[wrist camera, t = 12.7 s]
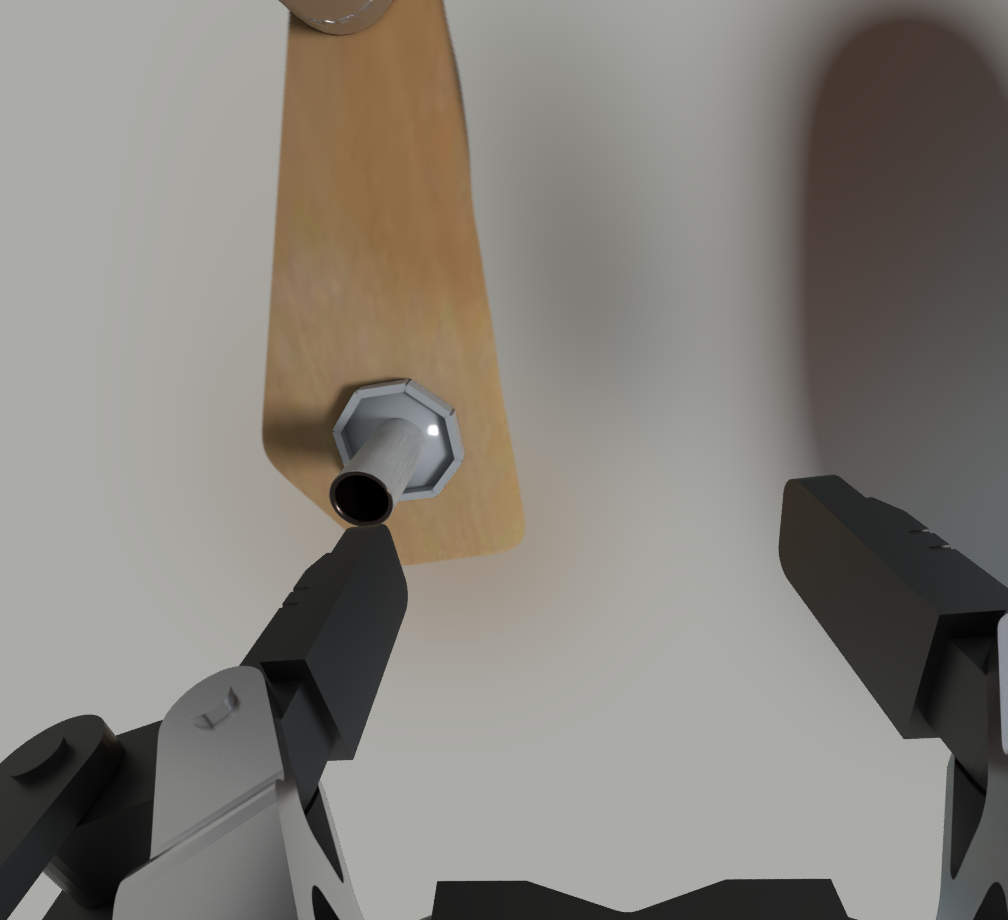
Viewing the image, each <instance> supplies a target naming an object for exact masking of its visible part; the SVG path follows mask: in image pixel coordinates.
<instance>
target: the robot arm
mask: <svg viewBox="0 0 1008 920" xmlns="http://www.w3.org/2000/svg"><path fill="white" fill-rule="evenodd" d="M279 1H280V2H281V3H282V4H284V6H286V7H287V8H288V9H289V10H290V11H291V12H292V13H293V14H294V15H295V16H297V17H298V18H299V19H301V20H302V21H303V22H305V23H306V24H308V25H309V26H311V27H313V28H315V29H317V30H320V31H322V32H324V33H330V34H336V35H344V34H352V33H356V32H358V31H361V30H363V29H366V28H368V27H369V26H370V25H372V24H373V23H374V22H376V21H377V20H378V19H379V18H380V17H381V16H382V15H383V14H384V12H385V11H386V10H387V9H388V7H389V6H390V5H391V3H392V1H393V0H279ZM779 557H780V562H781V566H782V569H783V571H784V574H785V575H786V577H787V579H788V580H789V582H790V583H791V585H792V586H793V587H794V589H795V590H796V591H797V593H798V594H799V596H800V597H801V598H802V600H803V601H804V603H805V604H806V605H807V607H808V608H809V609H810V611H811V612H812V613H813V615H814V616H815V618H816V619H817V620H818V622H819V623H820V624H821V626H822V627H823V629H824V630H825V631H826V633H827V634H828V635H829V637H830V638H831V640H832V641H833V642H834V644H835V645H836V646H837V648H838V649H839V651H840V652H841V653H842V655H843V656H844V657H845V659H846V660H847V662H848V663H849V664H850V666H851V667H852V669H853V670H854V671H855V673H856V674H857V675H858V677H859V678H860V679H861V681H862V682H863V684H864V685H865V686H866V688H867V689H868V691H869V692H870V693H871V695H872V696H873V697H874V699H875V700H876V702H877V703H878V704H879V706H880V707H881V708H882V710H883V711H884V713H885V714H886V715H887V716H888V718H889V719H890V721H891V722H892V723H893V725H894V726H895V728H896V729H897V730H898V732H899V733H900V735H901V736H902V737H903V739H918V738H941V739H942V741H943V742H944V743H945V744H946V746H947V747H948V748H949V749H950V751H951V752H952V753H951V756H950V759H949V762H948V766H947V777H946V797H945V815H944V816H945V817H944V834H943V852H942V871H941V888H940V899H939V906H938V912H937V916H936V920H1008V588H1007V587H1006V586H1004V585H1003V584H1002V583H1000V582H999V581H997V580H996V579H995V578H994V577H992V576H991V575H990V574H988V573H987V572H986V571H984V570H983V569H982V568H980V567H979V566H978V565H976V564H975V563H974V562H972V561H971V560H970V559H968V558H967V557H966V556H964V555H963V554H962V553H960V552H959V551H957V550H956V549H951V548H950V544H948V543H947V542H945V541H944V540H943V539H941V538H940V537H939V536H938V535H936V534H935V533H930V532H929V529H928V528H927V527H925V526H924V525H923V524H921V523H920V522H919V521H917V520H916V519H915V518H913V517H912V516H911V515H909V514H908V513H907V512H905V511H903V510H901V509H899V508H896V507H894V506H892V505H889V504H887V503H884V502H882V501H880V500H877V499H875V498H873V497H870V498H866V497H864V496H863V495H862V494H861V493H859V492H858V491H857V490H855V489H854V488H853V487H852V486H851V485H849V484H848V483H847V482H845V481H844V480H843V479H842V478H840V477H839V476H836V475H824V476H816V477H807V478H797V479H790V480H789V481H788V482H787V483H786V485H785V488H784V493H783V504H782V515H781V526H780V537H779ZM407 602H408V590H407V584H406V579H405V576H404V573H403V570H402V567H401V564H400V561H399V558H398V555H397V551H396V548H395V545H394V542H393V539H392V536H391V533H390V531H389V529H388V527H387V526H386V525H384V524H377V525H368V526H359V527H350V528H348V529H347V530H346V531H345V532H344V534H343V535H342V537H341V538H340V540H339V541H338V543H337V545H336V546H335V548H334V549H333V551H332V552H331V553H326V554H325V555H323V556H322V557H321V558H320V559H319V560H317V561H316V562H315V563H314V564H313V565H311V566H310V567H309V568H308V569H307V570H306V571H305V572H304V574H303V575H302V577H301V578H300V579H299V581H298V582H297V584H296V585H295V587H294V588H293V592H291V593H290V594H289V595H288V597H287V598H286V600H285V601H284V602H283V607H282V608H279V609H278V611H277V612H276V614H275V615H274V617H273V618H272V620H271V621H270V622H269V624H268V625H267V627H266V628H265V630H264V631H263V632H262V634H261V636H260V637H259V638H258V640H257V641H256V643H255V644H254V645H253V647H252V648H251V650H250V651H249V653H248V654H247V655H246V657H245V658H244V660H243V661H242V663H241V664H240V665H239V666H237V667H232V668H228V669H225V670H222V671H219V672H217V673H215V674H213V675H211V676H209V677H207V678H206V679H204V680H202V681H201V682H199V683H198V684H196V685H195V686H193V687H192V688H191V689H190V690H189V691H187V692H186V693H185V694H184V695H183V696H182V697H180V698H179V700H178V701H177V702H176V703H175V704H174V705H173V706H172V707H171V709H170V710H169V711H168V713H167V714H166V716H165V718H164V719H163V720H161V721H158V722H155V723H152V724H149V725H146V726H143V727H140V728H137V729H134V730H131V731H128V732H125V733H122V734H120V735H116V736H115V735H114V733H113V732H112V731H111V730H110V728H109V727H108V726H107V724H106V723H105V722H104V721H103V719H102V718H101V717H99V716H96V715H82V716H77V717H73V718H70V719H67V720H65V721H62V722H60V723H58V724H56V725H54V726H52V727H50V728H48V729H46V730H44V731H43V732H41V733H39V734H38V735H36V736H34V737H33V738H31V739H30V740H28V741H27V742H25V743H24V744H23V745H21V746H20V747H19V748H17V749H16V750H15V751H14V752H13V753H11V754H10V755H9V756H8V757H7V758H6V759H5V760H4V761H3V762H1V763H0V920H7V919H8V917H9V916H10V915H11V913H12V912H13V911H14V909H15V908H16V907H17V905H18V904H19V902H20V901H21V900H22V898H23V897H24V896H25V894H26V893H27V892H28V890H29V889H30V887H31V886H32V885H33V884H34V882H35V881H36V879H37V878H38V877H39V875H40V874H41V873H42V871H43V872H44V873H45V874H46V875H47V876H48V877H49V878H50V879H51V880H53V882H55V883H56V884H57V885H58V886H59V887H60V888H61V889H62V891H61V893H60V894H59V896H58V897H57V899H56V900H55V902H54V903H53V905H52V906H51V908H50V909H49V910H48V912H47V914H46V915H45V916H44V918H43V919H42V920H364V918H363V915H362V913H361V911H360V908H359V905H358V903H357V900H356V897H355V894H354V891H353V887H352V884H351V880H350V877H349V874H348V870H347V866H346V863H345V859H344V856H343V853H342V849H341V845H340V842H339V838H338V835H337V831H336V828H335V824H334V821H333V818H332V814H331V811H330V807H329V803H328V800H327V797H326V793H325V790H324V787H323V785H322V783H321V781H320V778H321V775H322V773H323V770H324V768H325V765H326V763H327V761H335V760H353V758H354V756H355V753H356V750H357V747H358V744H359V742H360V739H361V736H362V733H363V730H364V727H365V725H366V721H367V719H368V716H369V713H370V711H371V708H372V705H373V702H374V699H375V697H376V694H377V691H378V688H379V685H380V682H381V680H382V677H383V674H384V671H385V668H386V665H387V662H388V660H389V657H390V654H391V651H392V648H393V646H394V643H395V640H396V637H397V634H398V632H399V629H400V626H401V623H402V620H403V617H404V615H405V612H406V608H407ZM420 920H857V919H853V918H850V917H848V916H847V914H846V911H845V909H844V907H843V905H842V903H841V901H840V898H839V896H838V894H837V892H836V889H835V887H834V885H833V883H832V881H831V879H734V880H723V881H720V882H718V883H715V884H712V885H709V886H706V887H704V888H701V889H698V890H695V891H692V892H689V893H687V894H684V895H681V896H678V897H675V898H673V899H670V900H667V901H664V902H661V903H659V904H656V905H653V906H650V907H647V908H644V909H642V910H639V911H635V912H620V911H616V910H613V909H610V908H607V907H604V906H601V905H598V904H594V903H591V902H589V901H586V900H583V899H580V898H577V897H574V896H571V895H568V894H564V893H562V892H559V891H556V890H553V889H550V888H546V887H544V886H541V885H538V884H534V883H532V882H529V881H438V882H437V886H436V893H435V899H434V906H433V911H432V915H431V916H428V917H425V918H422V919H420Z"/></svg>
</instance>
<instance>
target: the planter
mask: <svg viewBox="0 0 1008 920" xmlns="http://www.w3.org/2000/svg"><path fill="white" fill-rule="evenodd" d="M424 450H425V438H424V436H423V434H422V432H421V430H420V429H419V428H418V427H417V426H416V425H415V424H413V423H412V422H410V421H408V420H405V419H398V418H397V419H390V420H388V421H386V422H384V423H383V424H382V425H380V426H379V427H378V429H377V430H376V431H375V432H374V433H373V434H372V436H371V437H370V438H369V439H368V440H367V442H366V443H365V444H364V445H363V446H362V447H361V449H360V450H359V451H358V452H357V453H356V455H355V456H354V457H353V458H352V459H351V460H350V462H349V463H348V464H347V465H346V466H345V468H344V469H343V470H342V471H341V472H340V473H339V475H338V476H337V477H336V478H335V479H334V481H333V482H332V484H331V487H330V491H329V497H330V502H331V505H332V507H333V508H334V510H335V511H336V513H337V514H338V515H339V516H340V517H341V518H342V519H344V520H345V521H347V522H349V523H351V524H353V525H356V526H368V525H377V524H381V523H383V522H385V521H386V520H387V519H388V518H389V517H390V515H391V513H392V511H393V510H394V508H395V506H396V504H397V502H398V500H399V498H400V497H401V495H402V493H403V491H404V489H405V487H406V485H407V484H408V482H409V480H410V478H411V476H412V474H413V472H414V471H415V469H416V467H417V465H418V463H419V461H420V459H421V458H422V456H423V453H424Z"/></svg>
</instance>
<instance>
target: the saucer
mask: <svg viewBox="0 0 1008 920" xmlns="http://www.w3.org/2000/svg"><path fill="white" fill-rule="evenodd" d="M452 409H453V407H452V406H451V405H449V404H448V403H446V402H445V401H443V400H442V399H440V398H439V397H437V396H436V395H434V394H433V393H431V392H430V391H429V390H427V389H426V388H424V387H423V386H421V385H420V384H418V383H417V382H415V381H414V380H411V381H409V379H403V380H397V381H391V382H384V383H378V384H372V385H365V386H362V387H360V388H359V389H358V390H356V391H355V392H354V394H353V395H352V397H351V399H350V401H349V402H348V404H347V406H346V407H345V409H344V411H343V413H342V414H341V416H340V418H339V420H338V421H337V423H336V425H335V426H334V428H333V432H332V433H333V436H334V439H335V442H336V444H337V447H338V450H339V453H340V456H341V459H342V462H343V464H344V467H345V466H346V465H347V464H348V463H349V462H350V460H351V459H352V458H353V457H354V456H355V455H356V453H357V452H358V451H359V450H360V449H361V447H362V446H363V445H364V444H365V443H366V442H367V440H368V439H369V438H370V437H371V436H372V434H373V433H374V432H375V431H376V430H377V429H378V427H379V426H380V425H382V424H383V423H384V422H386V421H388V420H390V419H397V418H398V419H405V420H408V421H410V422H412V423H413V424H415V425H416V426H417V427H418V428H419V429H420V430H421V432H422V434H423V436H424V438H425V450H424V453H423V456H422V458H421V459H420V461H419V463H418V465H417V467H416V469H415V471H414V472H413V474H412V476H411V478H410V480H409V482H408V484H407V485H406V487H405V489H404V491H403V493H402V495H401V497H400V498H399V500H398V501H405V500H413V499H421V498H429V497H435V496H436V495H437V496H438V494H439V493H440V492H441V490H442V489H443V488H444V486H445V485H446V484H447V482H448V481H449V480H450V478H451V477H452V476H453V474H454V473H455V471H456V470H457V469H458V467H459V466H460V465H461V463H462V462H463V459H464V455H465V451H464V446H463V442H462V438H461V433H460V429H459V425H458V420H457V416H456V412H455V410H452Z"/></svg>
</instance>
